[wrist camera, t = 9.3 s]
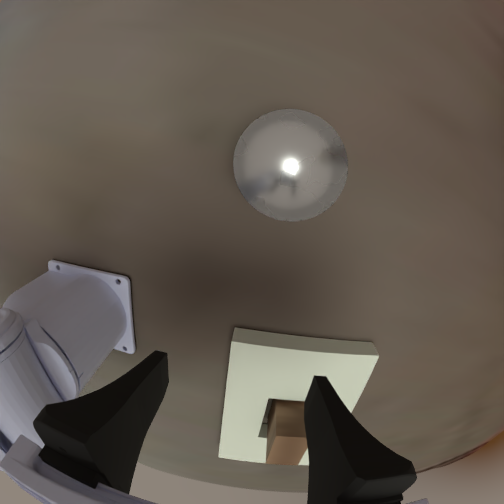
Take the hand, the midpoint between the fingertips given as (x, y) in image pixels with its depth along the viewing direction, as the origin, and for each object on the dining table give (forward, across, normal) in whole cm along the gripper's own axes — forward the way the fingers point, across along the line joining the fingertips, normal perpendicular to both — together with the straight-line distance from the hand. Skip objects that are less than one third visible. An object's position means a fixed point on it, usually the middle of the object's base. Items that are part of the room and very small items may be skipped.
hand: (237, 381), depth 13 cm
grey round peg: (+10, -1, -10) cm, 14 cm away
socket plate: (+9, -5, +12) cm, 16 cm away
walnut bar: (+10, -5, +12) cm, 16 cm away
